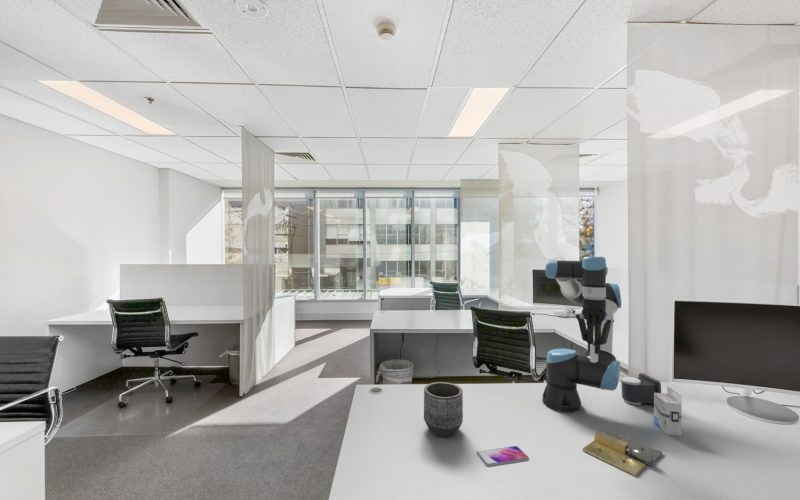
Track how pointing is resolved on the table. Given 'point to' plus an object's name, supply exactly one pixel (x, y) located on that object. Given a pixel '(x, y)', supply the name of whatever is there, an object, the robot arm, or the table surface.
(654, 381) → the light fixture
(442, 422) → the planter
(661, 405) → the ink box
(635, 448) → the gunmetal leaf
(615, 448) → the brass leaf
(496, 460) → the smartphone
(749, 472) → the table surface
